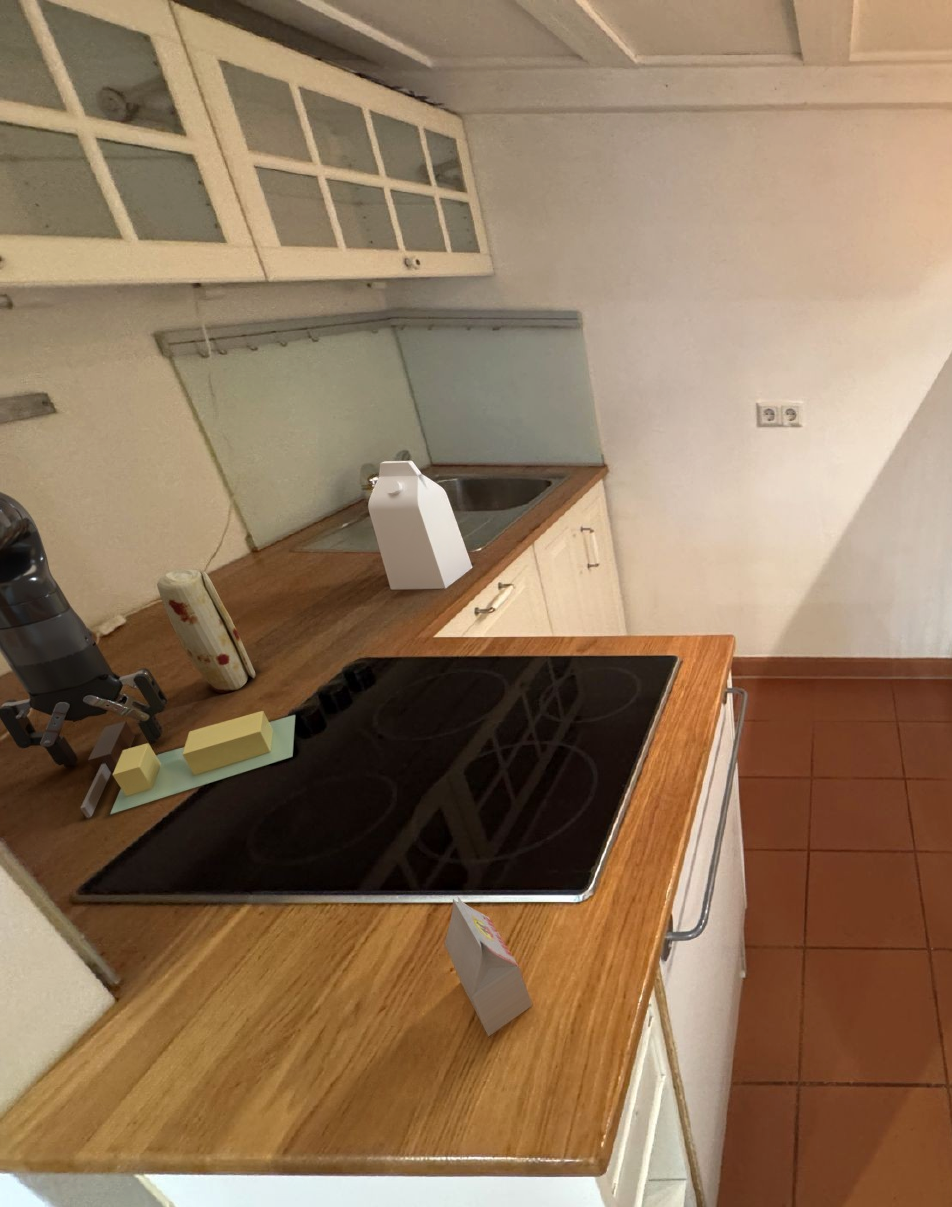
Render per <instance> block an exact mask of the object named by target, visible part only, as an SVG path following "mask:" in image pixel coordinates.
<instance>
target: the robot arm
mask: <svg viewBox="0 0 952 1207" xmlns="http://www.w3.org/2000/svg"><path fill="white" fill-rule="evenodd" d="M0 654H1V655H2V657H3V659H4V660H5V662H6V663H7V665H8V666H9V667H10V669H11V670H12V672H13V674H14V675H15V677H16V678H17V680H18V681H19V683H20V684H21V686H22V687H23V688H24V690H25V692H26V693H27V694H28V695H29V698H27V699H22V700H21V699H20V700H16V699H13V698H11V699H7V700H5V701H4V702H3V704H2V705H1V706H0V720H1V722H2V724H3V725H4V727H5V728H6V730H7V732H8V733H9V734H10V736H11V738H12V740H13V741H14V743H15V744H16V746H17V747H18V748H21V749H27V748H30V747H37V746H38V747H39V746H40V747H43V748H44V749H45V750H46V751H47V753H48V755H50V757H51V758H52V760H53V761H54V763H55V764H57V765H59V766H62V765H63V766H64V767H65V768H70V767H75V765H77V762H78V760H79V759H78V755H77V754H76V752H75V751H74V749H73V748H72V745H71V744H70V743H69V742H68V740H67V738H66V737H65V736H64V735H63V736H62V735H61V736H60V734H61V732H62V730H63V727H64V725H65V723H66V721H69V722H73V723H76V722H79V721H83V720H85V719H87V718H89V717H98V716H103V715H106V714H107V712H110V713H113V714H115V715H118V716H126V717H129V718H130V719H131V718H132V719H134V720H137V725H138V727H139V729H140V731H141V732H142V734H143V735H144V737H145V738H146V740H147V743H149V745H152V744H156V743H159V739H160V738H161V737H162V734H163V728H162V725H161V724H160V722H159V721H158V719H157V717H156V715H157V714H160V713H163V712H164V711H165V710H166V705H167V704H168V701H169V700H168V698H167V697H166V695H165V693H164V691H163V690H162V688H161V687H160V685H159V684H158V682H157V680H156V679H155V677H154V675H153V674H152V672H151V671H150V669H149V668H145V667H142V668H139V669H138V670H137V671H136V672H134V673H130V674H127V675H126V674H125V675H123V676H121V675H119V674H117V673H115V672H114V671H113V670H112V668H111V666H110V665H109V663H108V661H107V659H106V658H105V656H104V654H103V653H102V651H101V649H100V647H99V646H98V644H97V642H96V640H95V639H94V637H93V633H92V632H91V630H90V628H88V627H87V626H86V623H85V622H84V621H83V619H82V618H81V617H80V616H79V614H78V613H77V612H76V611H75V609H73V607H72V606H71V603H70V602H69V600H68V598H67V597H66V595H65V593H64V592H63V590H62V589H61V587H60V585H59V584H58V582H57V581H56V579H55V577H54V576H53V574H52V572H51V570H50V567H49V560H48V557H47V553H46V551H45V547H44V544H43V540H42V537H41V534H40V532H39V529H38V527H37V524H36V522H35V520H34V519H33V517H32V516H31V514H30V513H29V511H28V510H27V509H26V508H25V507H24V506H23V504H22V503H20V502H19V501H18V499H17V500H16V499H15V497H12V496H11V495H9V494H7V493H5V492H3V491H0ZM124 686H129V687H130V688H131V689H133V690H135V691H136V690H139V691H140V693H141V695H142V696H143V698H144V699H145V701H146V702H147V703H145V702H142V701H140V700H137V699H136V698H135V697H134V696H132V695H130V694H127V693H125V692H122V689H123V687H124ZM31 709H32V710H35V711H38V712H40V713H43V714H46V715H49V716H50V718H49V720H48V722H47V725H46V727H45V729H44V731H37V730H36V729H35V727H34V725H33V724H32V722H31V720H30V719H29V717H28V716H29V714H30V712H31Z"/></svg>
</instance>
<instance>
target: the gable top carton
mask: <svg viewBox="0 0 952 1207" xmlns="http://www.w3.org/2000/svg"><path fill="white" fill-rule="evenodd" d="M456 898H457V900H456V899H454V898H452V910H451V915H450V916H451V917H450V921H449V925H448V929H447V932H446V936H445V941H444V946H445V949H446V951H447V954H448V955H449V958H450V961H451V962H452V965H453V967H454V970H455V973H456V974H457V976H458V979H459V982H460V984H461V986H462V988H463V990H464V992H465V994H466V995H467V998H468V1000H469V1001H470V1003H471V1006H472V1007H473V1009H474V1012H475V1013H476V1015H477V1017H478V1020H479V1022H480V1023H481V1025H482V1027H483V1029H484V1031H485V1033H486V1035H487V1037H490V1036H491V1035H493V1034H494V1033H496V1032H497V1031H499V1030H500V1029H502V1028H503V1027H505V1026H506V1025H507V1024H508V1023H510V1022H511V1021H513V1020H514V1019H515V1018H517V1017H518V1016H520V1015H521V1014H522V1013H524V1012H525V1011H527V1010H529V1008H531V1007H532V1006H533V1003H532V999H531V997H530V994H529V991H528V989H527V986H526V982H525V980H524V977H523V974H522V972H521V968H520V966H519V965H518V964H519V963H517V961H516V959H515V958H514V956H513V955H512V953H511V951H510V949H509V948H508V947H507V945H506V943H505V941H504V940H503V938H502V937H501V935H500V933H499V931H498V930H497V929H496V927H495V924H494V923H493V921H492V920H491V919H490V917H489V916H487V915H485V914H484V913H482V912H480V911H478V910H476V909H475V908H472V907H471V906H469V905H468V904H466V903H465V902H464V901H462V900H461V898H460V897H459V896H457V895H456Z"/></svg>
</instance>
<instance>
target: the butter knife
mask: <svg viewBox="0 0 952 1207" xmlns="http://www.w3.org/2000/svg"><path fill="white" fill-rule="evenodd" d="M135 738H136V735H135V734H134V732H133V731H132V729H131V727H130V725H129V723H128V722H127V720H124V721H121V722H117V723H113V724H110V725H106V726H104V727H103V730H102V732H101V733H100V735H99V737H98V739H97V740H96V743H95V744H94V747H93V748H92V751H91V753H90V755H89V757H88V759H87V762H88V764H89V765H90V767H91V768H92V769H93V771H94V773H95V776H94V779H93V781H92V783H91V785H90V787H89V789H88V791H87V793H86V795H85V798H84V800H83V801H82V804H81V806H80V811H81V812H82V814H83V816H85V818H86V819H89V818H92V816H93V815H94V812H95V810H96V807H97V805H98V803H99V800H100V798H101V797H102V794H103V792H104V790H105V787H106V785H107V783H108V781H109V779H110V776H111V775H112V773H113V772H114V770H115V768H116V765H117V763H118V761H119V758H120V756H121V754H122V751H123V750H125V749H129V748H132V746H133V742H134V740H135Z"/></svg>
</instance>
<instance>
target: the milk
mask: <svg viewBox="0 0 952 1207" xmlns="http://www.w3.org/2000/svg"><path fill="white" fill-rule="evenodd" d="M378 476H379V477H378V478H377V480H376V483H375V485H374V487H373V489H372V492H371V494H370V496H369V499H368V503H367V504H368V505H367V509H368V513H369V516H370V520H371V524H372V528H373V531H374V534H375V538H376V542H377V545H378V549H379V553H380V556H381V560H382V563H383V567H384V570H385V574H386V578H387V581H388V585H389V588H390V590H392V591H393V590H394V591H395V590H438V589H439V590H441V589H442V590H443V589H448V588H449V587H450V586H451V585H452V584H454V583H455V582H456V581H458V580H459V579H460V578H462V577H463V576H464V575H465V574H467V573H468V572H469V571H471V570H472V569H473V565H472V562H471V559H470V557H469V556H470V555H469V553H468V550H467V548H466V545H465V542H464V539H463V537H462V534H461V531H460V530H461V529H460V528H459V525H458V522H457V519H456V516H455V514H454V510H453V508H452V505H451V502H450V499H449V497H448V493H447V492H446V490H445V489H444V487H442V486H441V485H440V484H438V483H436V482H435V481H433V480H432V479H431V478H429V477H427V476H426V475H424V474H422V472H421V471H420V470H419V468H418V466H416V464H415V463H414V462H413V460H389V461H387V460H386V461H382V462H379V474H378Z"/></svg>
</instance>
